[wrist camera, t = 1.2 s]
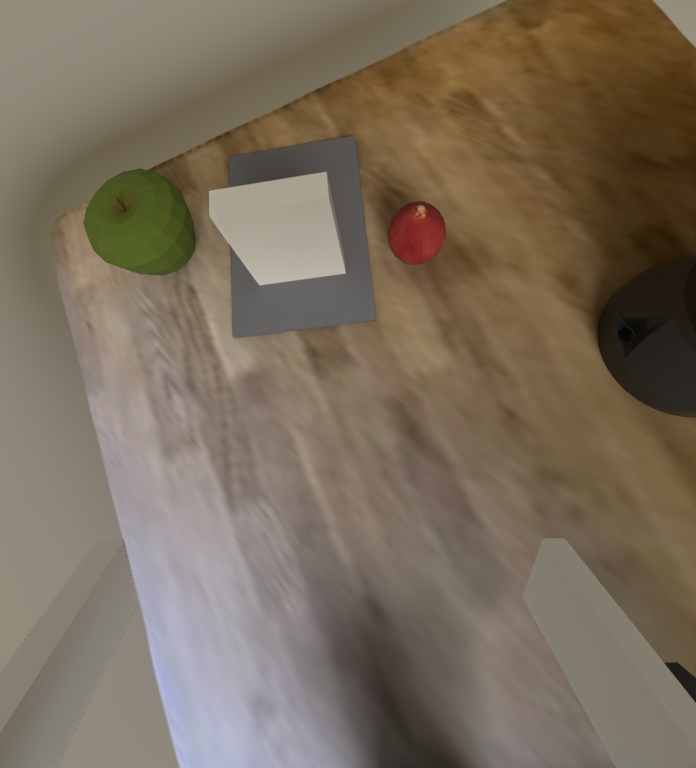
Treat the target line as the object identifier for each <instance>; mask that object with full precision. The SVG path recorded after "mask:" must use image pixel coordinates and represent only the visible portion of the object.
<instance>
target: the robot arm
mask: <svg viewBox="0 0 696 768" xmlns="http://www.w3.org/2000/svg"><path fill="white" fill-rule="evenodd" d="M599 343H600V348H601V352H602V355H603V358H604V360H605V363H606V365H607V367H608V369H609V370H610V372H611V373H612V375H613V376H614V378H615V379H616V380H617V381H618V383H619V384H620V385H621V386H622V387H623V388H624V389H625V390H626V391H627V392H629V393H630V394H631V395H632V396H634V397H635V398H636V399H638V400H639V401H641V402H643V403H644V404H646V405H648V406H650V407H652V408H654V409H657V410H659V411H662V412H665V413H668V414H672V415H677V416H682V417H696V254H692V255H689V256H686V257H682V258H679V259H676V260H672V261H669V262H665V263H662V264H659V265H656V266H654V267H652V268H650V269H648V270H646V271H644V272H642V273H640V274H638V275H637V276H636V277H634V278H633V279H632V280H630V281H629V282H628V283H626V284H625V285H624V286H622V287H621V288H620V289H619V290H618V291H617V292H616V293H615V294H614V295H613V296H612V297H611V299H610V300H609V301H608V303H607V305H606V307H605V309H604V311H603V313H602V316H601V320H600V325H599ZM522 598H523V600H524V601H525V603H526V605H527V607H528V609H529V611H530V612H531V614H532V616H533V618H534V620H535V621H536V623H537V625H538V627H539V629H540V630H541V632H542V634H543V636H544V638H545V640H546V641H547V643H548V645H549V647H550V649H551V650H552V652H553V654H554V656H555V658H556V659H557V661H558V663H559V665H560V667H561V669H562V670H563V672H564V674H565V676H566V678H567V679H568V681H569V683H570V685H571V687H572V688H573V690H574V692H575V694H576V696H577V698H578V699H579V701H580V703H581V705H582V707H583V708H584V710H585V712H586V714H587V716H588V717H589V719H590V721H591V723H592V725H593V727H594V728H595V730H596V732H597V734H598V736H599V737H600V739H601V741H602V743H603V745H604V746H605V748H606V750H607V752H608V754H609V756H610V757H611V759H612V761H613V763H614V765H615V766H616V768H696V678H695V677H694V676H693V675H692V674H690V673H689V672H688V671H687V670H686V669H684V668H683V667H682V666H681V665H680V664H679V663H677V662H675V663H664V662H663V661H662V660H661V659H660V657H659V656H658V655H657V654H656V652H655V651H654V650H653V649H652V647H651V646H650V645H649V644H648V642H647V641H646V640H645V639H644V637H643V636H642V635H641V634H640V632H639V631H638V630H637V628H636V627H635V626H634V625H633V623H632V622H631V621H630V620H629V618H628V617H627V616H626V615H625V613H624V612H623V611H622V610H621V608H620V607H619V606H618V605H617V603H616V602H615V601H614V600H613V598H612V597H611V596H610V595H609V593H608V592H607V591H606V590H605V588H604V587H603V586H602V585H601V583H600V582H599V581H598V580H597V578H596V577H595V576H594V575H593V573H592V572H591V571H590V569H589V568H588V567H587V566H586V564H585V563H584V562H583V561H582V559H581V558H580V557H579V556H578V554H577V553H576V552H575V551H574V549H573V548H572V547H571V546H570V544H569V543H568V542H567V541H566V539H565V538H543V539H542V542H541V545H540V548H539V551H538V554H537V557H536V559H535V562H534V565H533V568H532V571H531V574H530V577H529V580H528V583H527V585H526V588H525V591H524V594H523V597H522ZM137 606H138V602H137V597H136V593H135V588H134V583H133V578H132V574H131V569H130V565H129V560H128V555H127V551H126V546H125V542H124V540H97V541H96V542H95V544H94V545H93V546H92V547H91V549H90V550H89V552H88V553H87V554H86V556H85V557H84V558H83V560H82V561H81V563H80V564H79V565H78V567H77V568H76V570H75V571H74V572H73V574H72V575H71V576H70V578H69V579H68V580H67V582H66V583H65V585H64V586H63V587H62V589H61V590H60V591H59V593H58V594H57V596H56V597H55V598H54V600H53V601H52V602H51V604H50V605H49V606H48V608H47V609H46V611H45V612H44V613H43V615H42V616H41V617H40V619H39V620H38V622H37V623H36V625H35V626H34V627H33V629H32V630H31V631H30V633H29V634H28V635H27V637H26V638H25V639H24V641H23V642H22V644H21V645H20V646H19V648H18V649H17V651H16V652H15V653H14V655H13V656H12V657H11V659H10V660H9V661H8V663H7V664H6V666H5V667H4V668H3V670H2V671H1V672H0V768H58V766H59V765H60V762H61V760H62V758H63V756H64V754H65V752H66V750H67V748H68V746H69V744H70V742H71V740H72V738H73V736H74V734H75V732H76V730H77V728H78V726H79V724H80V722H81V719H82V718H83V716H84V714H85V711H86V709H87V708H88V705H89V703H90V701H91V699H92V697H93V695H94V693H95V691H96V689H97V687H98V685H99V683H100V681H101V679H102V677H103V675H104V673H105V670H106V669H107V667H108V665H109V663H110V661H111V659H112V657H113V655H114V653H115V651H116V648H117V646H118V644H119V642H120V640H121V638H122V636H123V634H124V632H125V630H126V628H127V626H128V624H129V622H130V620H131V618H132V616H133V614H134V611H135V610H136V608H137Z"/></svg>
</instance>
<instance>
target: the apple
mask: <svg viewBox="0 0 696 768" xmlns="http://www.w3.org/2000/svg"><path fill="white" fill-rule="evenodd" d="M84 227H85V230H86V233H87V236H88V239H89V241H90V243H91V245H92V247H93V249H94V251H95V252H96V253H97V254H98V255H99V256H100V257H101V258H102V259H103V260H104V261H106V262H107V263H110V264H113V265H115V266H118V267H121V268H124V269H126V270H130V271H133V272H136V273H139V274H148V275H164V274H170V273H172V272H174V271H176V270H178V269H180V268H181V267H183V266H184V265H185V264H186V263H187V262H188V261H189V260H190V258H191V256H192V254H193V252H194V250H195V233H194V225H193V221H192V218H191V215H190V213H189V210H188V208H187V205H186V203H185V201H184V198H183V196H182V193H181V191H180V190H179V189H178V188H177V187H176V186H175V185H174V184H173V183H172V182H171V181H169V180H168V179H166V178H165V177H163V176H161V175H159V174H157V173H154V172H151V171H147V170H143V169H136V170H131V171H126V172H123V173H120V174H119V175H117V176H115V177H113V178H111V179H109V180H108V181H106V182H105V183H104V184H103V185H102V187H101V188H100V189H99V190H98V191H97V192H96V193H95V195H94V196H93V198H92V200H91V202H90V203H89V205H88V207H87V209H86V214H85V219H84Z"/></svg>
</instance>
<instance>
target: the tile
mask: <svg viewBox="0 0 696 768" xmlns="http://www.w3.org/2000/svg"><path fill="white" fill-rule="evenodd" d="M209 217H210V218H211V220H212V221H213V222H214V224H215V225H216V227H217V228H218V229H219V231H220V232H221V233H222V235H223V236H224V238H225V239H226V240H227V242H228V243H229V244H230V246H231V247H232V249H233V250H234V251H235V253H236V254H237V255H238V257H239V258H240V260H241V261H242V262H243V264H244V265H245V266H246V268H247V269H248V271H249V272H250V273H251V275H252V276H253V277H254V279H255V280H256V282H257V283H258V284H259V285H266V284H273V283H281V282H288V281H295V280H302V279H310V278H317V277H324V276H331V275H338V274H346V268H345V258H344V251H343V246H342V242H341V237H340V232H339V228H338V223H337V218H336V214H335V209H334V204H333V200H332V195H331V190H330V186H329V181H328V176H327V172H322V173H316V174H309V175H303V176H297V177H291V178H285V179H279V180H273V181H267V182H260V183H254V184H248V185H242V186H236V187H230V188H224V189H218V190H211V191H209Z"/></svg>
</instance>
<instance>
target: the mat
mask: <svg viewBox="0 0 696 768" xmlns="http://www.w3.org/2000/svg"><path fill="white" fill-rule="evenodd" d="M322 172H327V176H328V181H329V186H330V190H331V195H332V200H333V204H334V209H335V214H336V218H337V223H338V228H339V232H340V237H341V242H342V246H343V251H344V258H345V268H346V274H338V275H331V276H324V277H317V278H310V279H302V280H295V281H288V282H281V283H273V284H266V285H259V284H258V283H257V282H256V280H255V279H254V277H253V276H252V275H251V273H250V272H249V271H248V269H247V268H246V266H245V265H244V264H243V262H242V261H241V260H240V258H239V257H238V255H237V254H236V253H235V251H234V250H233V249H232V247H231V276H232V324H233V337H234V338H241V337H249V336H257V335H264V334H272V333H280V332H288V331H296V330H304V329H312V328H320V327H328V326H336V325H344V324H352V323H360V322H368V321H376V316H375V307H374V299H373V290H372V281H371V272H370V263H369V255H368V246H367V237H366V228H365V219H364V211H363V202H362V193H361V184H360V175H359V166H358V158H357V149H356V140H355V135H354V136H348V137H342V138H336V139H331V140H325V141H319V142H313V143H307V144H301V145H295V146H290V147H284V148H278V149H272V150H266V151H260V152H254V153H249V154H243V155H237V156H231V157H229V180H230V187H236V186H242V185H248V184H254V183H260V182H267V181H273V180H279V179H285V178H291V177H297V176H303V175H309V174H316V173H322Z"/></svg>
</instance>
